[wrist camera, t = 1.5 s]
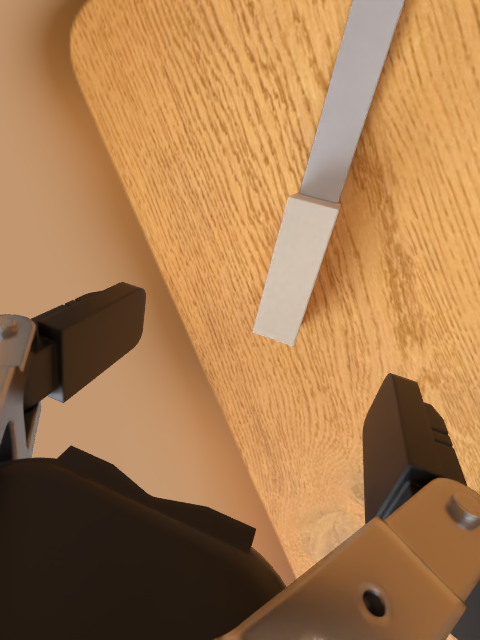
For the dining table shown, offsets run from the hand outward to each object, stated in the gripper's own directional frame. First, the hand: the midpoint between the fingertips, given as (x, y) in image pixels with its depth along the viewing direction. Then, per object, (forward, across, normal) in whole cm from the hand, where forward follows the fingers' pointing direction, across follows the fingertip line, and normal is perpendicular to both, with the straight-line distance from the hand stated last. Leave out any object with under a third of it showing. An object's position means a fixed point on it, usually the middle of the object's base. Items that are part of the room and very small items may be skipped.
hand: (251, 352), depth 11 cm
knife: (+12, 0, -5) cm, 13 cm away
